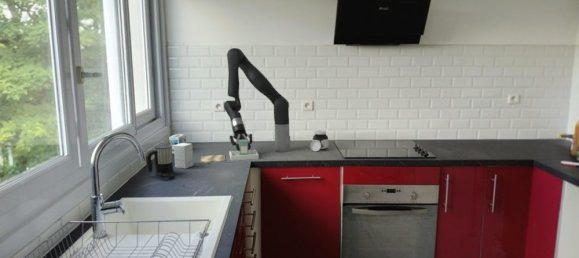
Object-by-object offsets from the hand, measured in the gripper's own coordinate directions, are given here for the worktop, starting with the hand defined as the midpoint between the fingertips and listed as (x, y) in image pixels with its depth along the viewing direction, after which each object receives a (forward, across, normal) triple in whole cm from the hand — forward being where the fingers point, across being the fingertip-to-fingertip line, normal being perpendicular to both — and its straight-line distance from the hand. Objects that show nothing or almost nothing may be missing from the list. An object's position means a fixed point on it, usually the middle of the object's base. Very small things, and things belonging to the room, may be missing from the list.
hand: (244, 149), depth 248 cm
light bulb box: (-22, -34, +29) cm, 50 cm away
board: (0, -18, +7) cm, 19 cm away
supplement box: (+6, -35, +2) cm, 36 cm away
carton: (+2, 0, +4) cm, 5 cm away
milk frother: (+16, -47, -9) cm, 50 cm away
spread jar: (+3, +50, +5) cm, 50 cm away
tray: (+3, 0, +5) cm, 6 cm away
